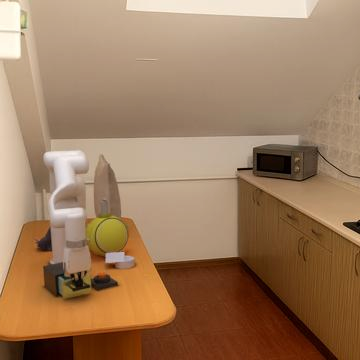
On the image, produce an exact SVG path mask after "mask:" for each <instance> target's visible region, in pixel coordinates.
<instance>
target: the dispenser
mask: <svg viewBox="0 0 360 360" xmlns="http://www.w3.org/2000/svg"><path fill="white" fill-rule="evenodd" d="M42 272H43V285H44V288H45V289H47V290H48V291H49V292H50V293H51V294H53V295H54V296H55V297H60V296H62V295H61V294H60V293H59V292H58V283H57V277H58V276H62V275H64V273H65V271H64V270H63V262H61V263H56V264H46V265H43V266H42Z"/></svg>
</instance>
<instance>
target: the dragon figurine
mask: <svg viewBox="0 0 360 360" xmlns="http://www.w3.org/2000/svg"><path fill="white" fill-rule="evenodd" d="M85 230H86V228H85ZM34 241H35V242H34V243H35V244H36V247H37V248H39V249H40V250H42V251H52V240H51V227H50V226H49V228H48V230H47V231H46V233H45V235H44V237H42V238H41V239H40V240H38V239H36V238H34Z"/></svg>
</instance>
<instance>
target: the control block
mask: <svg viewBox="0 0 360 360" xmlns="http://www.w3.org/2000/svg"><path fill="white" fill-rule="evenodd" d="M118 286H119V281H117V280H115V279H114V278H112V277H111V275H110V274H107V273H106V278H98V274H96V275H94V277H92V278H91V288H93V289H95V290H96V291H102V290H105V289H110V288H114V287H118Z"/></svg>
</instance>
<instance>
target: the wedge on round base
mask: <svg viewBox="0 0 360 360" xmlns="http://www.w3.org/2000/svg"><path fill="white" fill-rule="evenodd" d="M111 263H112V264H113V263H114V267H115V268H116V269H120V270H121V269H123V270H125V269H129V268H130V269H131V268H133V267H134V266H135V257H134V256H132V255H125V251H120V252H114V253H106V257H105V264H111Z"/></svg>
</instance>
